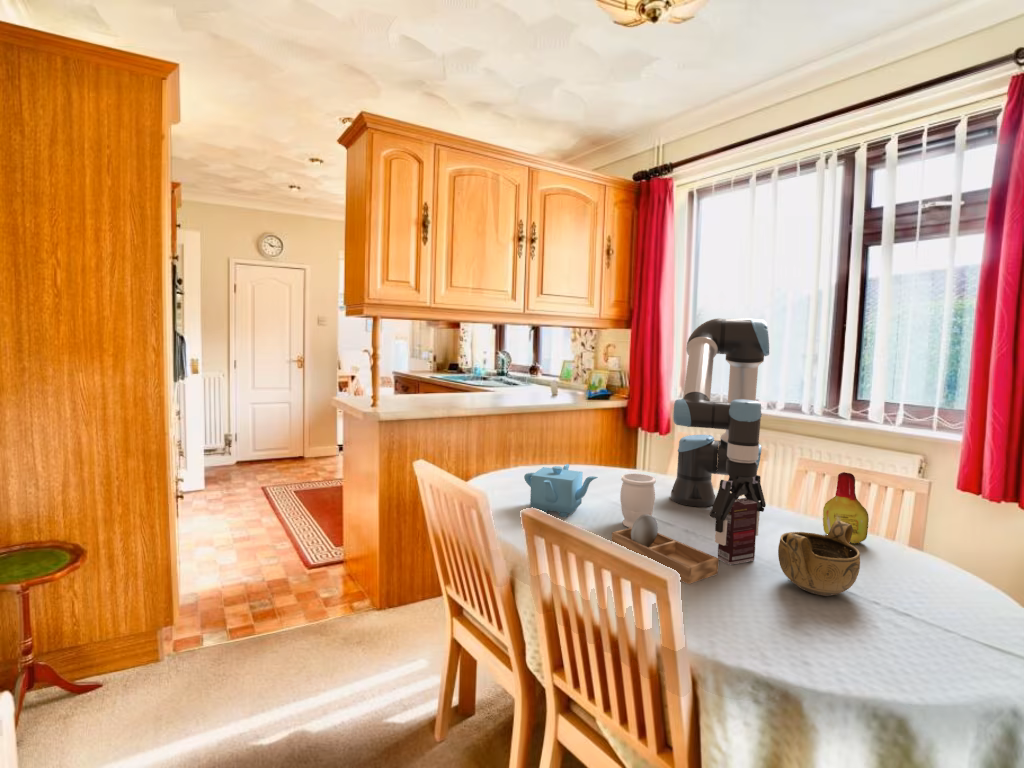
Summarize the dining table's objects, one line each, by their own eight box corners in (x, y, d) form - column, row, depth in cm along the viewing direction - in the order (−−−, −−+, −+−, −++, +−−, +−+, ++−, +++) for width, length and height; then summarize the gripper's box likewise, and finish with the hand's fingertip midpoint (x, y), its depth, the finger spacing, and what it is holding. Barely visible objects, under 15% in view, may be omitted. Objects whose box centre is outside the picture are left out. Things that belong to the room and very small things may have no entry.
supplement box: (741, 554, 150) (745, 497, 149) (755, 561, 146) (759, 502, 144) (715, 558, 147) (719, 500, 146) (729, 565, 143) (733, 505, 141)
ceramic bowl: (824, 617, 118) (830, 548, 116) (753, 584, 132) (757, 523, 131) (877, 592, 130) (883, 530, 128) (807, 565, 144) (811, 509, 142)
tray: (639, 538, 160) (641, 505, 159) (717, 574, 138) (720, 535, 137) (611, 546, 154) (612, 511, 153) (688, 584, 132) (690, 543, 131)
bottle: (816, 534, 166) (822, 469, 164) (828, 531, 170) (833, 467, 168) (859, 548, 156) (865, 479, 154) (870, 544, 160) (876, 476, 158)
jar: (654, 532, 165) (656, 483, 163) (618, 529, 167) (621, 480, 165) (652, 520, 175) (655, 474, 174) (619, 517, 177) (621, 471, 176)
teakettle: (519, 505, 188) (520, 462, 186) (568, 499, 195) (569, 458, 194) (544, 524, 170) (546, 477, 169) (597, 516, 178) (598, 471, 176)
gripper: (757, 451, 154) (752, 525, 156) (698, 461, 140) (693, 542, 142) (783, 457, 147) (777, 534, 150) (723, 468, 134) (718, 553, 136)
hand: (736, 538), depth 146 cm, fingers open, 13 cm apart
